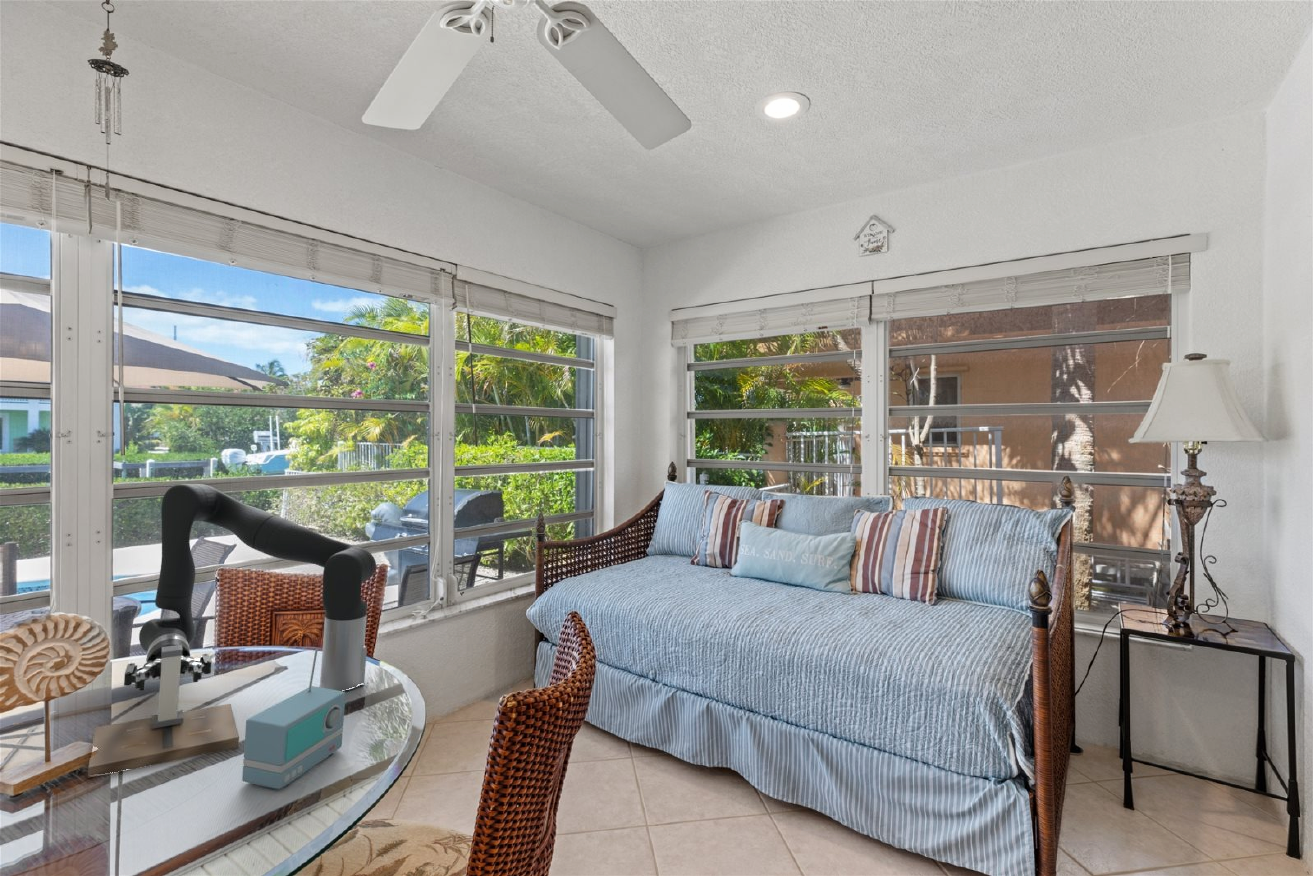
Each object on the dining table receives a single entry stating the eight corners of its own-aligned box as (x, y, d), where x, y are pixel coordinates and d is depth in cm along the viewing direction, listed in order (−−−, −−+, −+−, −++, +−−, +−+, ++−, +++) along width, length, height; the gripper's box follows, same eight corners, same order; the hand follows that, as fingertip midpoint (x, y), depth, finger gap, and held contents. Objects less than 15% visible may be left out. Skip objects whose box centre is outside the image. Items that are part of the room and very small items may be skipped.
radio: (284, 796, 110) (292, 681, 109) (240, 786, 111) (248, 673, 111) (346, 752, 125) (353, 651, 125) (307, 744, 127) (314, 645, 127)
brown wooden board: (230, 713, 137) (230, 703, 137) (238, 747, 124) (239, 736, 124) (94, 737, 123) (95, 727, 123) (87, 778, 110) (88, 767, 110)
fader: (182, 715, 130) (187, 643, 130) (183, 723, 127) (188, 649, 127) (151, 720, 127) (156, 647, 127) (151, 728, 124) (156, 653, 124)
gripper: (127, 643, 135) (124, 669, 122) (209, 633, 144) (214, 657, 131) (125, 678, 135) (121, 707, 122) (206, 666, 144) (211, 693, 131)
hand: (169, 681), depth 127 cm, fingers open, 8 cm apart
